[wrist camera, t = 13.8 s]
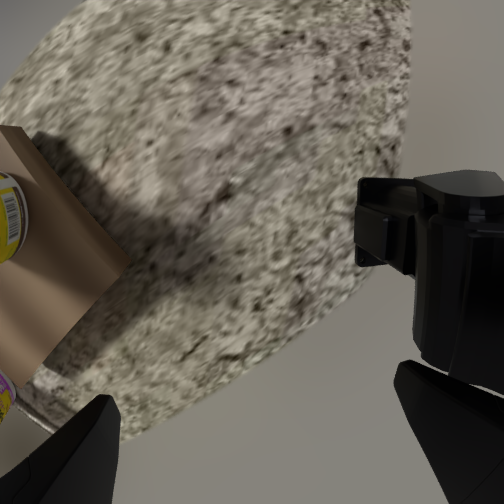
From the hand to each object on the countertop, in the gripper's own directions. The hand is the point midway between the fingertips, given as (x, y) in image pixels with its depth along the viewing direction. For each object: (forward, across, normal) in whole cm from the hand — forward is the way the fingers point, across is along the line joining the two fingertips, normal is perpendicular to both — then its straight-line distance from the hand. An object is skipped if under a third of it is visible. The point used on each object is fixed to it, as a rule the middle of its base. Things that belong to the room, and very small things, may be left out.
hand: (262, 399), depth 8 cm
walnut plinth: (+13, +17, -1) cm, 21 cm away
